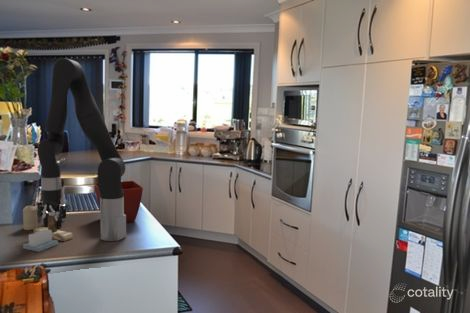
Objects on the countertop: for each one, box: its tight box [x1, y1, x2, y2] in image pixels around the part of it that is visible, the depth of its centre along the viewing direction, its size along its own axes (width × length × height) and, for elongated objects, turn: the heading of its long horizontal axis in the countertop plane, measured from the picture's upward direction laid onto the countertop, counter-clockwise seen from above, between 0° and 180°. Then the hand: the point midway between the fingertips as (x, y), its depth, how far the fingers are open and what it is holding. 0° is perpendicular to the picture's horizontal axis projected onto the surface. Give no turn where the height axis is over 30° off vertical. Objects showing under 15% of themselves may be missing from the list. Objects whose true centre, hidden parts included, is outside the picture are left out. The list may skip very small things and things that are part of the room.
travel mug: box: [50, 178, 66, 223], centre depth 183 cm, size 6×7×20 cm
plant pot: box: [93, 180, 144, 223], centre depth 189 cm, size 19×19×17 cm
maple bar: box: [32, 215, 74, 242], centre depth 163 cm, size 18×4×9 cm, turn 65°
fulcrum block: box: [22, 229, 59, 253], centre depth 151 cm, size 8×9×6 cm
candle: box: [22, 204, 39, 231], centre depth 173 cm, size 6×6×10 cm
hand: (52, 227), depth 163 cm, fingers open, 5 cm apart
